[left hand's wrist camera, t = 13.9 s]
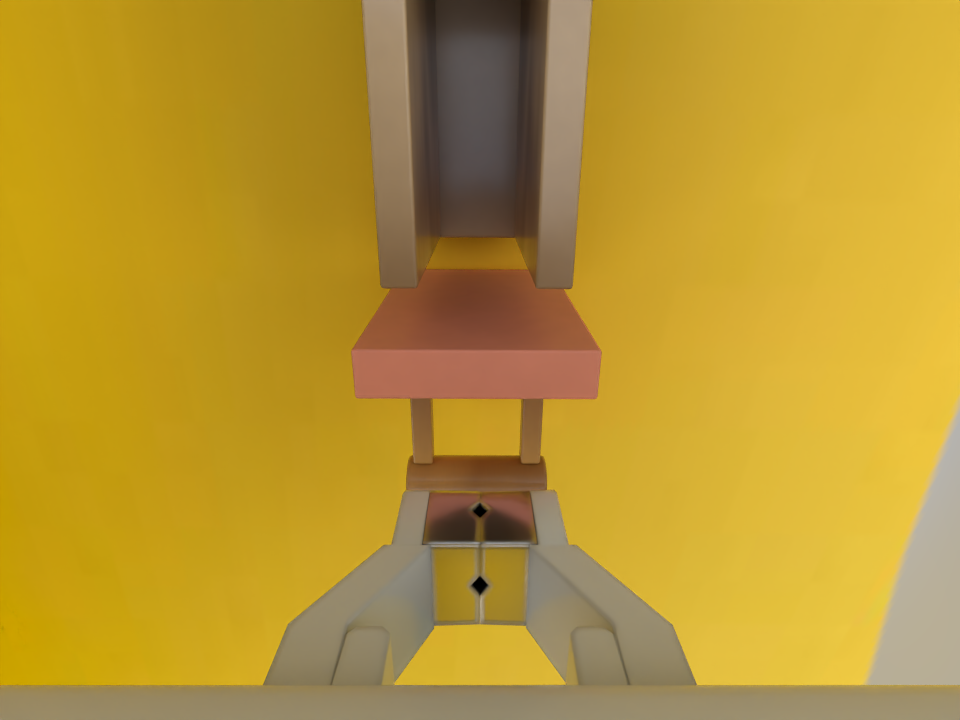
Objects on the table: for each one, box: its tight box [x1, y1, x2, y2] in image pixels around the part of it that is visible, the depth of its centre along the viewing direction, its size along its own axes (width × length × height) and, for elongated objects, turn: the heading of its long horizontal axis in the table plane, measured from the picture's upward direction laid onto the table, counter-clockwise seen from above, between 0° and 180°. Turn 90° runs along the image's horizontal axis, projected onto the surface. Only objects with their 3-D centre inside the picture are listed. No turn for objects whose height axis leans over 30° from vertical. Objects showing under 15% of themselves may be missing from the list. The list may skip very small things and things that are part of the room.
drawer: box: [351, 0, 601, 492], centre depth 13 cm, size 26×6×8 cm, turn 0°
